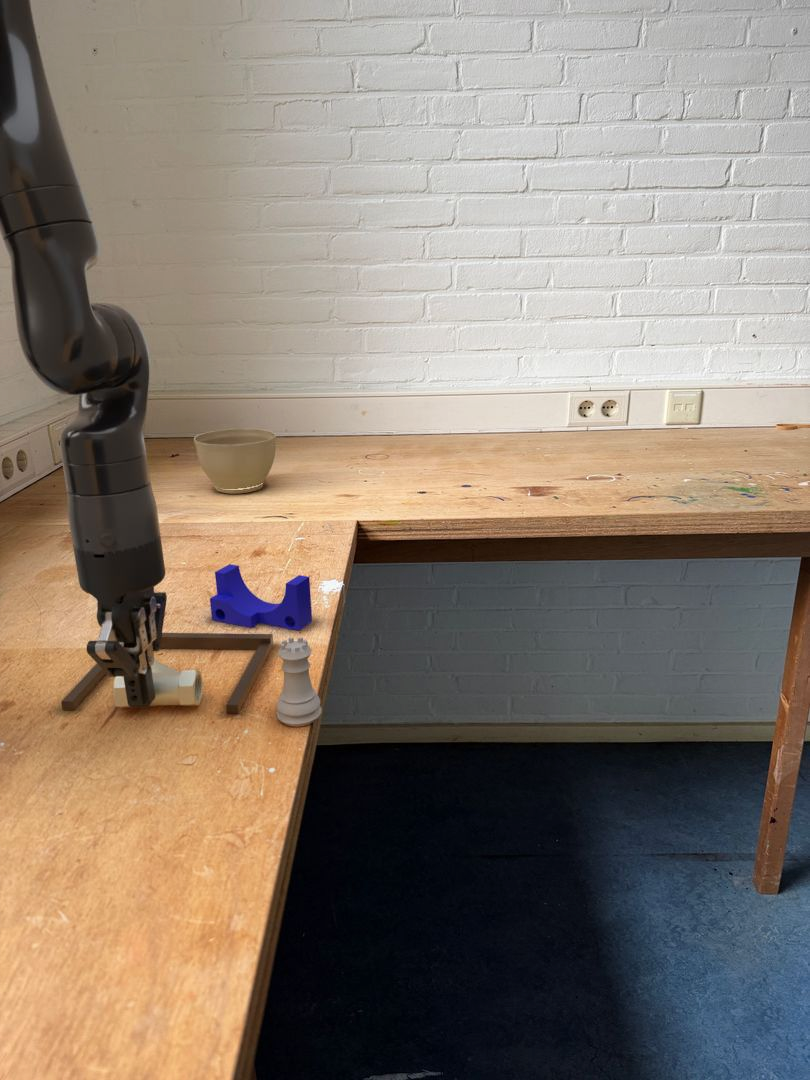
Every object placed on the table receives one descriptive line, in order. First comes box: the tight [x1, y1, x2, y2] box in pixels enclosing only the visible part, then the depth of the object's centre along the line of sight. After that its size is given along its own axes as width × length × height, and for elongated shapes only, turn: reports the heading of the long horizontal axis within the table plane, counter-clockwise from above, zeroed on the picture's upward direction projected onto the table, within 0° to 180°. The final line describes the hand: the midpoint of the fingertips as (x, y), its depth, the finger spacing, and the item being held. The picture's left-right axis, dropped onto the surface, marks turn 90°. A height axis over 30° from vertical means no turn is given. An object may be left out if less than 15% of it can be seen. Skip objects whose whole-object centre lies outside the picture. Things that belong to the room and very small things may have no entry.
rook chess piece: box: [275, 636, 323, 727], centre depth 77 cm, size 4×4×8 cm
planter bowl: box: [193, 428, 277, 495], centre depth 161 cm, size 16×16×11 cm
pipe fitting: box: [112, 658, 204, 708], centre depth 82 cm, size 8×4×7 cm
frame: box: [60, 632, 274, 714], centre depth 87 cm, size 18×15×2 cm
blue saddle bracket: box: [209, 563, 313, 632], centre depth 99 cm, size 12×4×6 cm, turn 65°
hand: (142, 703), depth 77 cm, fingers closed
